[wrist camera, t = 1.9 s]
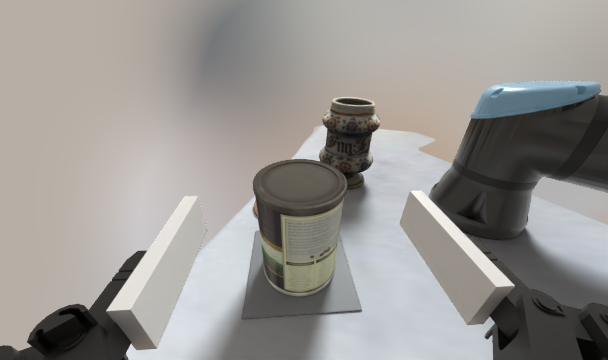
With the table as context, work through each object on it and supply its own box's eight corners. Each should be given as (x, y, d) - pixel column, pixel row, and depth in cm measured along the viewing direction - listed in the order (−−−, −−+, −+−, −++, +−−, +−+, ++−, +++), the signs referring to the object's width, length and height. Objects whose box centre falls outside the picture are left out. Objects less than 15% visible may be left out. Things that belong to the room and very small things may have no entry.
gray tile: (337, 228, 38) (337, 227, 38) (361, 310, 26) (361, 309, 26) (255, 231, 37) (255, 230, 37) (242, 318, 25) (241, 317, 25)
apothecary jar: (379, 181, 52) (397, 102, 42) (341, 198, 46) (353, 110, 36) (343, 162, 60) (352, 93, 51) (308, 174, 54) (310, 98, 45)
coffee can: (248, 281, 29) (232, 193, 22) (282, 229, 37) (279, 153, 30) (324, 310, 26) (334, 218, 18) (342, 247, 34) (354, 166, 27)
